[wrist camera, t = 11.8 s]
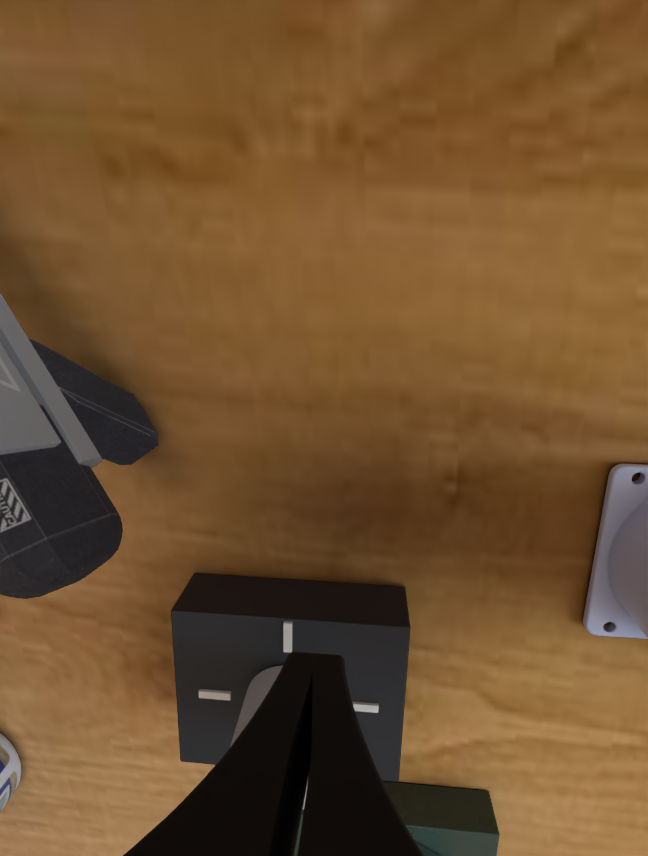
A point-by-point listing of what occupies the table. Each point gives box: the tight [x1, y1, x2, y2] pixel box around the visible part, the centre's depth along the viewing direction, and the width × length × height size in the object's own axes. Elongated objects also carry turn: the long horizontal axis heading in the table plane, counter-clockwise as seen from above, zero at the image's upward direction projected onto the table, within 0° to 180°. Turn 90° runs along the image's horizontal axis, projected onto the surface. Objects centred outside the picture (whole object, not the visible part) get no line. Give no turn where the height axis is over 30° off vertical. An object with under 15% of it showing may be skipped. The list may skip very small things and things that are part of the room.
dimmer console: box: [171, 573, 410, 782], centre depth 23 cm, size 10×8×3 cm
